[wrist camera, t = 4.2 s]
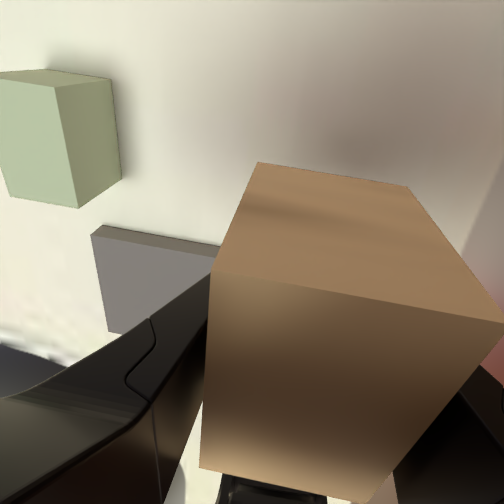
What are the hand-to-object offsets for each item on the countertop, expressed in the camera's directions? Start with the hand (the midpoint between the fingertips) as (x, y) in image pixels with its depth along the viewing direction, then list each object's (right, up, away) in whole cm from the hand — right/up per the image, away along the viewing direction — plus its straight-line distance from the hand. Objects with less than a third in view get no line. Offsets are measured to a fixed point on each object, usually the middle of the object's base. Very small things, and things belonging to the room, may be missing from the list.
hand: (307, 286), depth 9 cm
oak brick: (0, +1, +1) cm, 1 cm away
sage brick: (-12, +9, +11) cm, 18 cm away
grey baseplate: (-9, -2, +17) cm, 19 cm away
